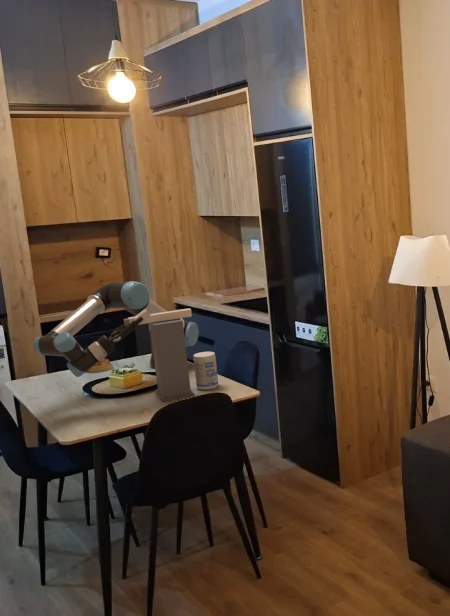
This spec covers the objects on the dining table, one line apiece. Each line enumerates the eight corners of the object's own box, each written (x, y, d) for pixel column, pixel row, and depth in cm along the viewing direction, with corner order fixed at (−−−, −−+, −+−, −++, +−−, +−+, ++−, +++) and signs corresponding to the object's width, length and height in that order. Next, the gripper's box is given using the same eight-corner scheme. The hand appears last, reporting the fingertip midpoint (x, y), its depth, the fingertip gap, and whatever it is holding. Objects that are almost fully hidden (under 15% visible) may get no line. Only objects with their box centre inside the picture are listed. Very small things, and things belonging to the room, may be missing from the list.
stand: (155, 392, 279) (146, 320, 274) (187, 387, 283) (178, 315, 277) (161, 401, 266) (151, 326, 260) (194, 395, 269) (185, 320, 264)
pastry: (81, 369, 334) (79, 354, 333) (110, 364, 339) (108, 349, 337) (84, 375, 322) (82, 360, 320) (114, 370, 326) (112, 354, 325)
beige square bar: (124, 325, 266) (123, 318, 265) (190, 315, 273) (189, 308, 272) (125, 326, 263) (124, 319, 263) (191, 316, 270) (191, 309, 269)
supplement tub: (211, 391, 273) (207, 357, 271) (192, 389, 278) (188, 356, 275) (222, 384, 281) (219, 351, 279) (204, 383, 286) (200, 350, 284)
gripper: (106, 350, 272) (150, 315, 275) (109, 358, 257) (156, 322, 260) (95, 336, 270) (139, 302, 273) (97, 344, 255) (145, 307, 257)
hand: (147, 312), depth 266 cm, fingers closed on beige square bar, 3 cm apart
